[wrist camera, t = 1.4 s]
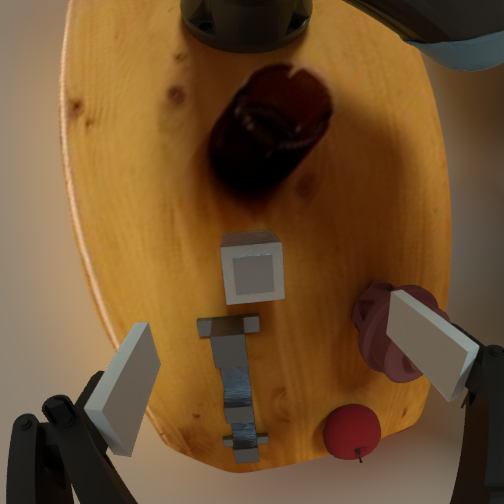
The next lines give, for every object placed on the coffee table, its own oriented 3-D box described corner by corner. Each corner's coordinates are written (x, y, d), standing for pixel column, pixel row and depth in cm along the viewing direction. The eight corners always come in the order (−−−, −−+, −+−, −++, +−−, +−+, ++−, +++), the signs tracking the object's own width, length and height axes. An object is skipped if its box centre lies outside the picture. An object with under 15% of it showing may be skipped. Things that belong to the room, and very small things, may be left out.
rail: (197, 318, 31) (192, 338, 27) (258, 313, 31) (262, 332, 27) (224, 443, 37) (224, 463, 32) (267, 439, 37) (271, 460, 33)
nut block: (222, 233, 29) (219, 248, 22) (270, 229, 29) (282, 242, 22) (227, 278, 30) (226, 306, 23) (273, 274, 30) (285, 300, 23)
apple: (378, 406, 37) (403, 446, 28) (338, 437, 38) (355, 478, 29) (349, 387, 35) (375, 433, 26) (305, 422, 37) (320, 470, 27)
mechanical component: (412, 307, 33) (355, 351, 34) (387, 250, 31) (322, 299, 32) (467, 350, 21) (396, 410, 22) (453, 282, 19) (366, 356, 20)
